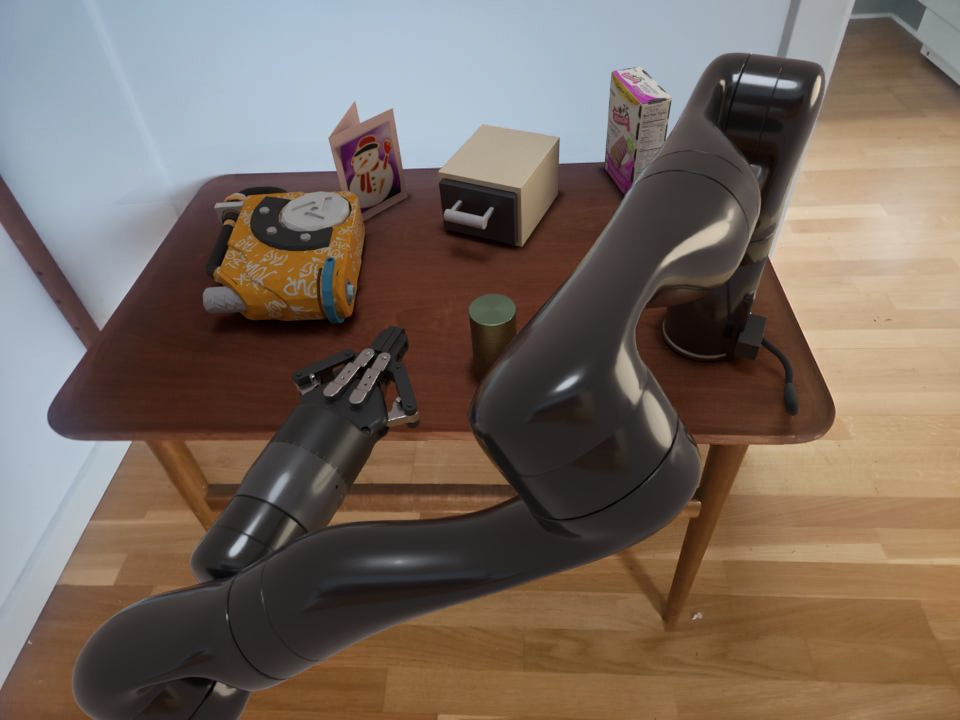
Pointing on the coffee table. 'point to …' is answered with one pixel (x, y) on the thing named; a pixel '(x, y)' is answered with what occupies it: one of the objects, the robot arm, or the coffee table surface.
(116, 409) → the coffee table surface
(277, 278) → the device
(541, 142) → the cabinet
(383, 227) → the coffee table surface
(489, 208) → the drawer
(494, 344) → the tin can
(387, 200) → the greeting card
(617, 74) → the candy bar box
